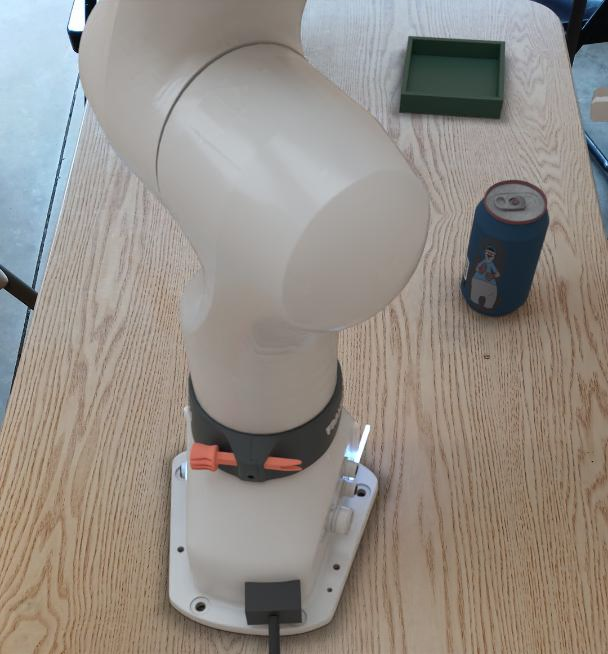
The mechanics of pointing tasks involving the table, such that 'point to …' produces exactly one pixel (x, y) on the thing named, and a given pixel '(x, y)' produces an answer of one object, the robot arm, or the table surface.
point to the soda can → (504, 247)
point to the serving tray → (453, 77)
